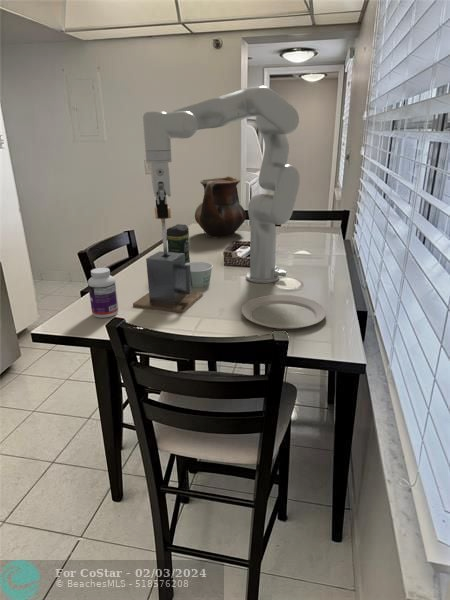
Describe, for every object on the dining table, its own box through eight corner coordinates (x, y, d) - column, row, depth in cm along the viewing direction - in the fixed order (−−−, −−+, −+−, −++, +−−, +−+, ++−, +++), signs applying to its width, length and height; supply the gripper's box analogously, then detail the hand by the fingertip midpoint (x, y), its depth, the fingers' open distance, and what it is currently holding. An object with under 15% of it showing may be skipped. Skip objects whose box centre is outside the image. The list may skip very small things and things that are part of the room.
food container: (206, 289, 152) (205, 272, 150) (176, 286, 156) (175, 269, 154) (218, 279, 163) (217, 263, 160) (189, 276, 167) (188, 260, 164)
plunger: (179, 268, 140) (176, 206, 133) (171, 274, 135) (167, 210, 127) (162, 266, 142) (158, 205, 135) (153, 272, 137) (148, 209, 129)
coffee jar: (183, 274, 169) (181, 228, 162) (165, 272, 171) (162, 227, 164) (193, 267, 177) (191, 223, 170) (175, 266, 179) (173, 222, 173)
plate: (314, 299, 143) (315, 293, 142) (335, 332, 119) (336, 326, 118) (238, 301, 142) (238, 295, 141) (244, 335, 118) (244, 329, 117)
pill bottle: (95, 309, 136) (89, 266, 131) (120, 308, 137) (115, 265, 132) (90, 319, 129) (83, 274, 124) (116, 318, 130) (111, 273, 124)
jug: (201, 228, 249) (199, 175, 238) (248, 228, 246) (248, 175, 235) (189, 241, 220) (186, 181, 209) (242, 242, 216) (242, 181, 205)
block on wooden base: (202, 295, 147) (201, 251, 141) (183, 313, 133) (180, 265, 127) (156, 290, 152) (152, 247, 147) (133, 306, 138) (128, 260, 133)
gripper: (173, 158, 118) (176, 219, 124) (169, 155, 134) (172, 210, 140) (146, 158, 117) (150, 220, 123) (145, 155, 133) (149, 210, 139)
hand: (162, 215), depth 132 cm, fingers open, 9 cm apart
